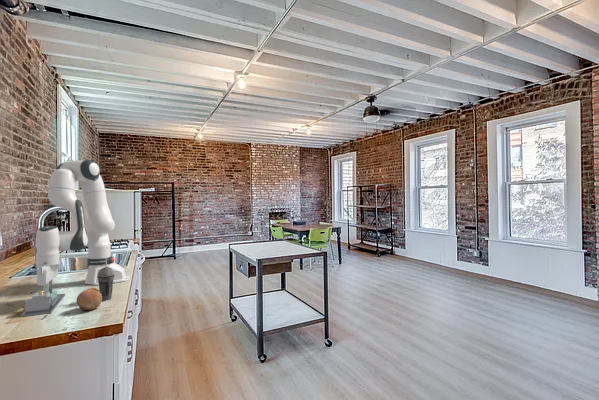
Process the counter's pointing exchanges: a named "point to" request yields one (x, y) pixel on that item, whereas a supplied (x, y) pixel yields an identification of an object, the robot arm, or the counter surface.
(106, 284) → the beverage cup
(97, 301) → the onion
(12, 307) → the counter surface
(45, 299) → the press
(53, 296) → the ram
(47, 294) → the housing
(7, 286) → the counter surface
